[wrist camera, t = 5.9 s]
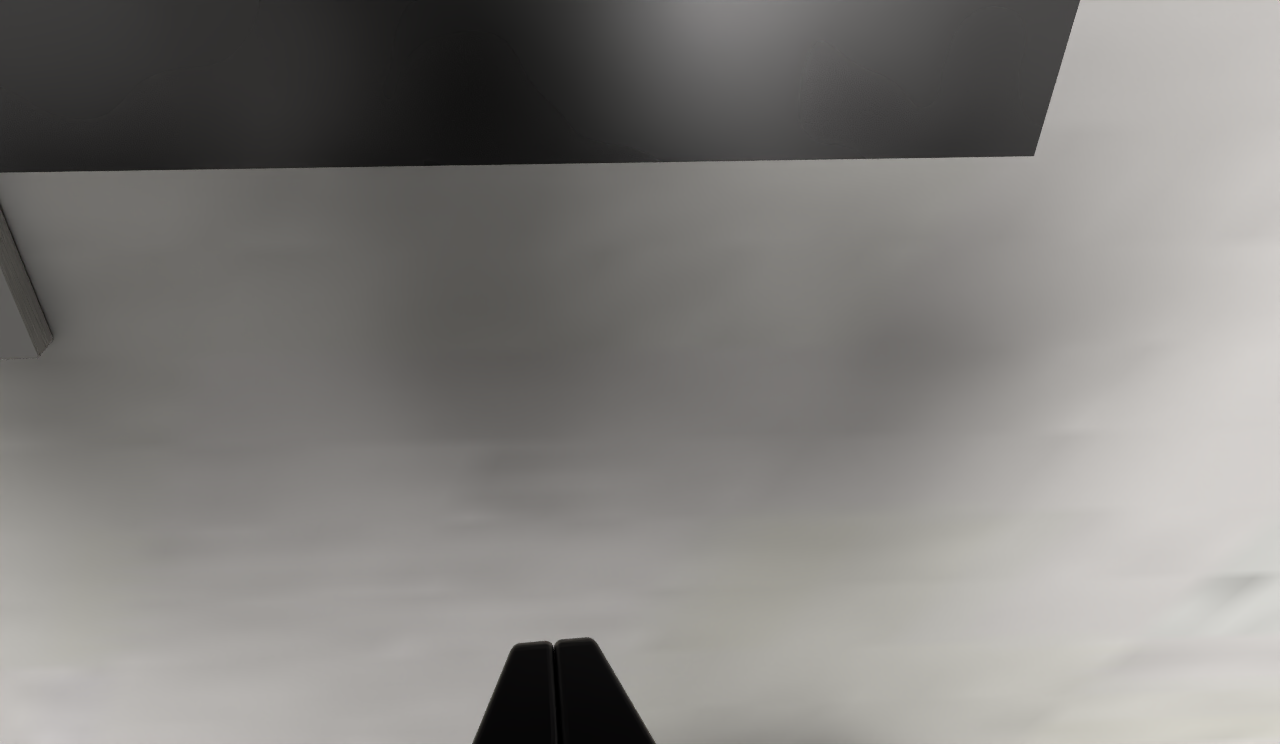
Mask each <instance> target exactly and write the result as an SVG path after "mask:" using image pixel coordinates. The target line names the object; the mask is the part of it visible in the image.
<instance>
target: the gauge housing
mask: <svg viewBox="0 0 1280 744" xmlns="http://www.w3.org/2000/svg"><path fill="white" fill-rule="evenodd" d="M52 340H53V337H52V334H51V332H50V329H49V327H48V325H47V322H46V320H45V317H44V315H43V312H42V310H41V307H40V305H39V302H38V300H37V297H36V295H35V293H34V290H33V288H32V285H31V283H30V280H29V278H28V275H27V273H26V270H25V268H24V265H23V263H22V260H21V258H20V256H19V253H18V251H17V248H16V246H15V243H14V241H13V238H12V236H11V233H10V231H9V228H8V226H7V224H6V221H5V219H4V216H3V214H2V211H1V209H0V359H21V358H39V357H40V355H41V354H42V353H43V352H44V350H45V349H46V348H47V347H48V345H49V344H50V343H51V342H52Z"/></svg>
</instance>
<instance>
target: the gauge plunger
mask: <svg viewBox="0 0 1280 744" xmlns="http://www.w3.org/2000/svg"><path fill="white" fill-rule="evenodd" d="M1079 2H1080V0H0V173H3V172H65V171H128V170H190V169H253V168H316V167H378V166H441V165H503V164H566V163H629V162H691V161H754V160H816V159H879V158H942V157H1004V156H1034V153H1035V150H1036V147H1037V143H1038V140H1039V137H1040V133H1041V130H1042V126H1043V123H1044V120H1045V116H1046V113H1047V110H1048V106H1049V103H1050V99H1051V96H1052V93H1053V89H1054V86H1055V83H1056V79H1057V76H1058V73H1059V69H1060V66H1061V62H1062V59H1063V56H1064V52H1065V49H1066V46H1067V42H1068V39H1069V36H1070V32H1071V29H1072V25H1073V22H1074V19H1075V15H1076V12H1077V9H1078V5H1079Z"/></svg>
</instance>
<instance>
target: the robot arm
mask: <svg viewBox="0 0 1280 744" xmlns="http://www.w3.org/2000/svg"><path fill="white" fill-rule="evenodd" d="M472 744H656V743H655V741H654V740H653V738H652V736H651V734H650V733H649V731H648V729H647V728H646V726H645V724H644V722H643V721H642V719H641V717H640V716H639V714H638V712H637V710H636V709H635V707H634V705H633V704H632V702H631V700H630V699H629V697H628V695H627V693H626V692H625V690H624V688H623V687H622V685H621V683H620V681H619V680H618V678H617V676H616V675H615V673H614V671H613V670H612V668H611V666H610V664H609V663H608V661H607V659H606V658H605V656H604V654H603V652H602V651H601V649H600V647H599V646H598V644H597V643H596V642H595V641H594V640H593V639H592V638H589V637H585V638H573V639H561V640H559V641H557V642H556V643H555V645H554V647H553V645H552V643H550V642H549V641H538V642H526V643H518V644H516V645H514V647H513V648H512V649H511V651H510V653H509V655H508V658H507V660H506V663H505V665H504V668H503V670H502V672H501V675H500V677H499V680H498V682H497V685H496V687H495V689H494V692H493V694H492V697H491V699H490V702H489V704H488V707H487V709H486V711H485V714H484V716H483V719H482V721H481V724H480V726H479V729H478V731H477V733H476V736H475V738H474V741H473V743H472Z"/></svg>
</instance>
